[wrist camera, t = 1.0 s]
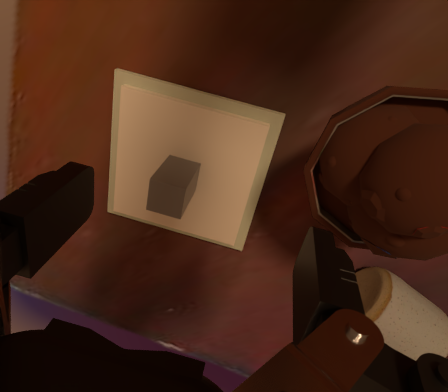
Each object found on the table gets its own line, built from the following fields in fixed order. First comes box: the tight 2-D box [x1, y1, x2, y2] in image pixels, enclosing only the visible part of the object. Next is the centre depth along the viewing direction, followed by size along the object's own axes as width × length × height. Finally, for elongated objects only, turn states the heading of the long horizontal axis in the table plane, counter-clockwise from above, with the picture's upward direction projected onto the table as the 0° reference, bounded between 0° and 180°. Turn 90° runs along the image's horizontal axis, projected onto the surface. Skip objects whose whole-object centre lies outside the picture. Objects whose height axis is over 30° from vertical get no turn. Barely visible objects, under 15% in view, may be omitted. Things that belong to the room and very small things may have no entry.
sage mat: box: [107, 68, 285, 251], centre depth 33 cm, size 15×15×1 cm
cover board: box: [113, 84, 270, 246], centre depth 30 cm, size 13×13×6 cm
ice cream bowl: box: [303, 86, 448, 260], centre depth 22 cm, size 11×11×15 cm
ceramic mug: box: [355, 267, 448, 361], centre depth 34 cm, size 11×8×8 cm
